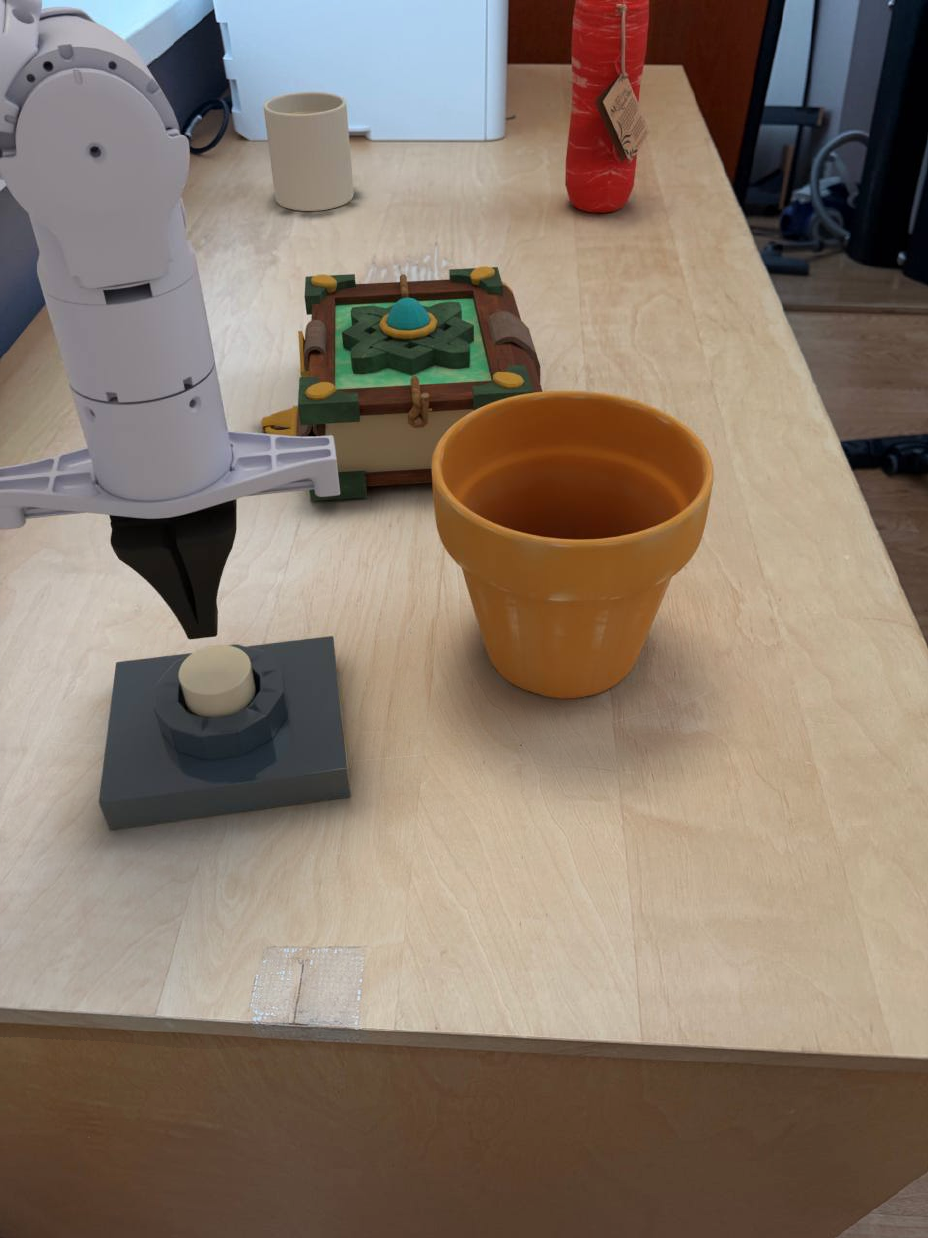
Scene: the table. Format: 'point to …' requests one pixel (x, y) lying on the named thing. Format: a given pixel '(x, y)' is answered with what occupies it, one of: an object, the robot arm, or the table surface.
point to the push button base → (224, 739)
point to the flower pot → (569, 529)
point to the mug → (309, 150)
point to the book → (403, 369)
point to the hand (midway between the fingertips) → (203, 624)
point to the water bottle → (606, 102)
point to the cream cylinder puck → (217, 681)
